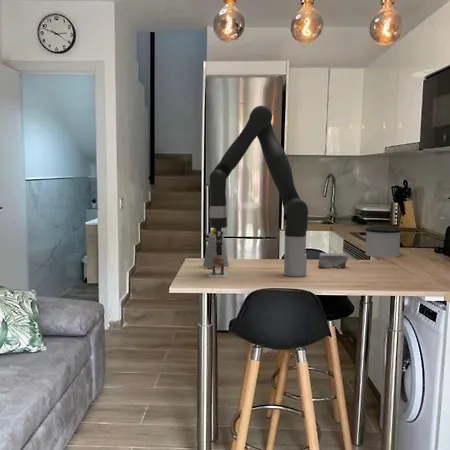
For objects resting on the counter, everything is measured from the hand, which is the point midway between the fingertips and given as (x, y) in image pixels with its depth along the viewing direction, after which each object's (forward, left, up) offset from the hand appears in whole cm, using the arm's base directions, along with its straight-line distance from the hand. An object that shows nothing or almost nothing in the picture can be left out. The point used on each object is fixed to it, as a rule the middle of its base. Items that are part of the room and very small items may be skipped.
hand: (218, 253), depth 206 cm
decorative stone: (-54, -19, -10) cm, 58 cm away
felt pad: (0, 0, -9) cm, 9 cm away
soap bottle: (+1, -20, -10) cm, 22 cm away
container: (-94, -59, -10) cm, 112 cm away
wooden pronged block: (0, 0, -9) cm, 9 cm away
